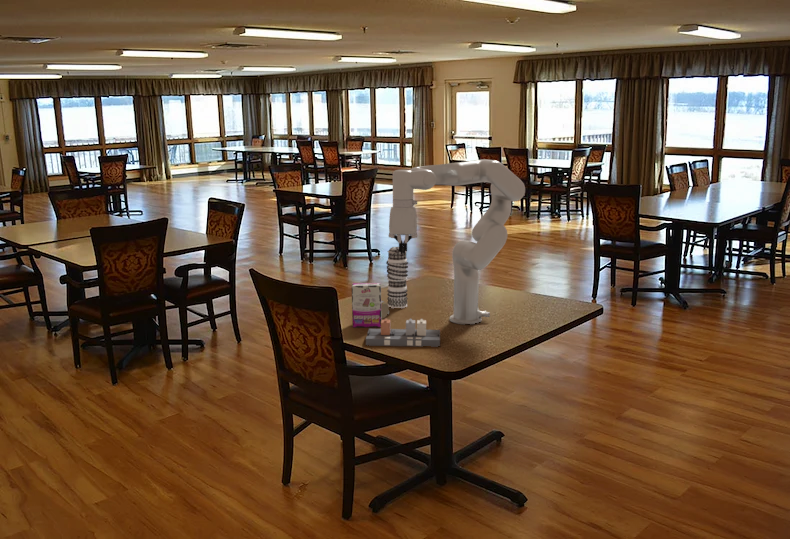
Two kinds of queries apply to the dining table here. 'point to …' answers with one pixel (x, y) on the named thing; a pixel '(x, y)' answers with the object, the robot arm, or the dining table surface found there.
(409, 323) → the slider grey
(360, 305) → the candy bar box
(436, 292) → the dining table surface
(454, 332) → the dining table surface
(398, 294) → the decorative candle
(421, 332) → the slider ivory
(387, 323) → the slider rust
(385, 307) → the ceramic mug
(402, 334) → the switch unit
